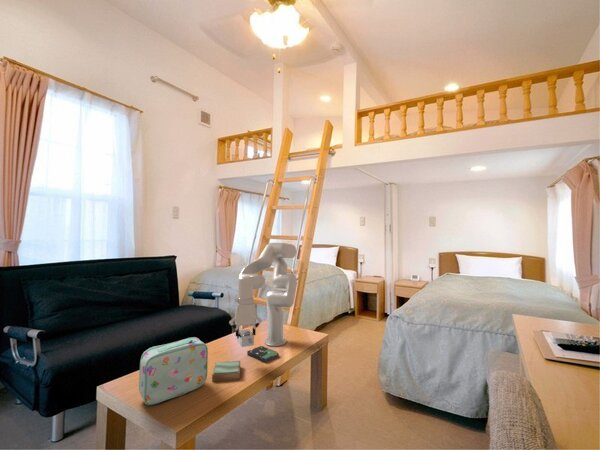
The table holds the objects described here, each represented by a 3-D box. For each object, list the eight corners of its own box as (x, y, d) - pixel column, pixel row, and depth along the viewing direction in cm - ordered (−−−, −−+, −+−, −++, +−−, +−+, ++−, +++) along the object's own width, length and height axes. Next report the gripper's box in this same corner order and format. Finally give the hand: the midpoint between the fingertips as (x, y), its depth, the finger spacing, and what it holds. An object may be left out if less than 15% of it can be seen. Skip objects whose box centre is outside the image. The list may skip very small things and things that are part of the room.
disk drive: (246, 356, 156) (265, 364, 146) (246, 351, 156) (265, 358, 146) (261, 350, 164) (279, 357, 154) (261, 345, 164) (279, 352, 154)
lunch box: (201, 376, 133) (201, 330, 134) (211, 385, 126) (211, 336, 126) (137, 400, 115) (137, 346, 115) (144, 411, 107) (144, 354, 108)
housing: (237, 340, 146) (237, 328, 147) (248, 338, 149) (248, 326, 149) (242, 347, 136) (242, 335, 137) (254, 346, 139) (254, 333, 139)
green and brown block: (215, 369, 140) (215, 362, 141) (240, 367, 142) (240, 360, 143) (212, 381, 129) (212, 374, 129) (239, 379, 131) (239, 371, 131)
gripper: (227, 303, 138) (227, 341, 137) (263, 302, 141) (263, 338, 141) (228, 300, 145) (228, 335, 145) (262, 298, 149) (262, 333, 148)
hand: (245, 336), depth 143 cm, fingers closed on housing, 7 cm apart
